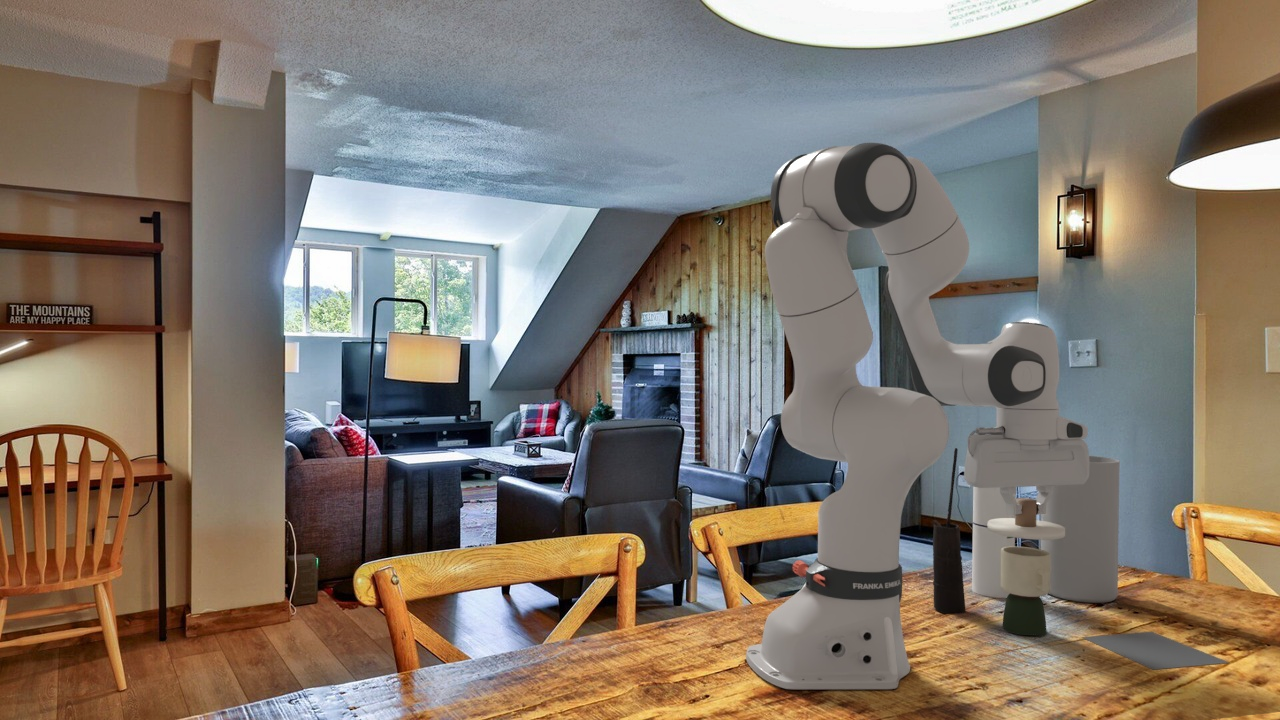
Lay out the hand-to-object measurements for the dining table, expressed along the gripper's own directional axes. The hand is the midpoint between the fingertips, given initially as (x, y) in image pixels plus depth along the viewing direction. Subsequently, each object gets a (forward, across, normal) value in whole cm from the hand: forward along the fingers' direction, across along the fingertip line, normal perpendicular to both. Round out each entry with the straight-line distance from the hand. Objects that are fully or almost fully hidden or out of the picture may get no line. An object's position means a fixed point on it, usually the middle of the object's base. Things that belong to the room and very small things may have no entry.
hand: (1026, 514), depth 126 cm
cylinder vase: (+19, +25, +17) cm, 36 cm away
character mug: (+19, 0, 0) cm, 19 cm away
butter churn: (+19, -5, +14) cm, 24 cm away
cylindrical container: (+19, +10, +21) cm, 30 cm away
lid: (+3, 0, 0) cm, 3 cm away
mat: (+19, +13, -11) cm, 25 cm away
